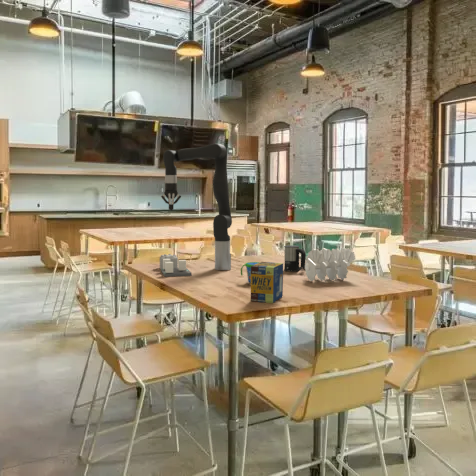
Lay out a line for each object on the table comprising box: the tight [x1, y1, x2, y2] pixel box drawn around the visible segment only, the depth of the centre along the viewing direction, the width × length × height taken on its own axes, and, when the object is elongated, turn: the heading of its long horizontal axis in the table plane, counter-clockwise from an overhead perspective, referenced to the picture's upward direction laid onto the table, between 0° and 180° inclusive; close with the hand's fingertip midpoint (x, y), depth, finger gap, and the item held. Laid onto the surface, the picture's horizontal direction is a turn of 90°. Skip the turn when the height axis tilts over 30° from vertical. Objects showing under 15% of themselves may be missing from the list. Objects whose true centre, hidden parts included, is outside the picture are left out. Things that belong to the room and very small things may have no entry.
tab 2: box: [165, 262, 173, 273], centre depth 294 cm, size 4×4×6 cm
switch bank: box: [160, 267, 192, 278], centre depth 302 cm, size 15×19×2 cm
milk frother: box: [283, 244, 307, 272], centre depth 316 cm, size 14×16×15 cm
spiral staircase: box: [304, 247, 356, 282], centre depth 280 cm, size 18×18×25 cm
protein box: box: [250, 261, 284, 304], centre depth 233 cm, size 10×15×16 cm
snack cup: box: [240, 261, 260, 284], centre depth 273 cm, size 16×11×10 cm
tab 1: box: [163, 259, 171, 269], centre depth 307 cm, size 4×4×6 cm
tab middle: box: [178, 259, 187, 271], centre depth 302 cm, size 4×4×6 cm
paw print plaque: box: [159, 253, 179, 270], centre depth 320 cm, size 10×13×9 cm
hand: (171, 210), depth 329 cm, fingers closed
